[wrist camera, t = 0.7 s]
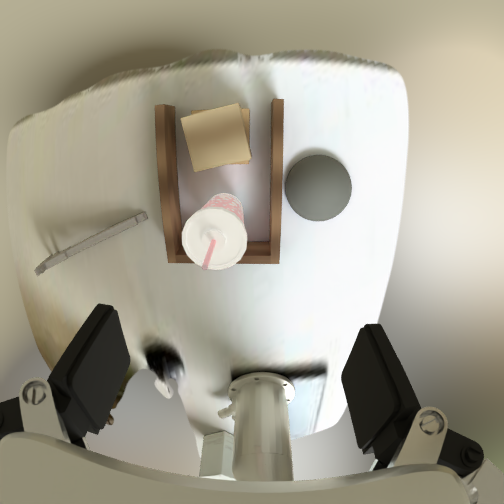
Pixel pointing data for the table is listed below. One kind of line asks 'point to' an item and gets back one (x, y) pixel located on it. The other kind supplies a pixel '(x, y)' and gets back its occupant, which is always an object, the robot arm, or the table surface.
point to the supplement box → (217, 456)
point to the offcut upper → (216, 137)
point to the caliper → (89, 242)
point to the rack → (170, 192)
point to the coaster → (318, 188)
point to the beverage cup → (216, 233)
